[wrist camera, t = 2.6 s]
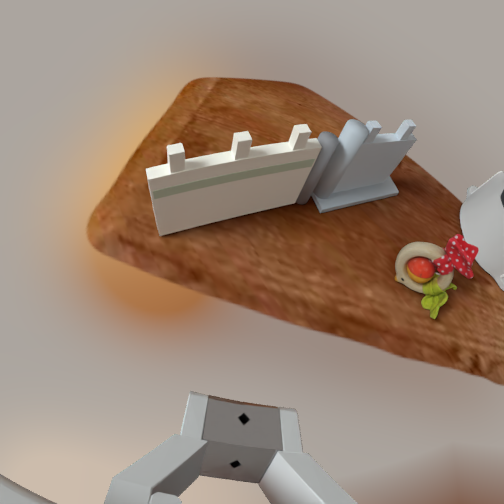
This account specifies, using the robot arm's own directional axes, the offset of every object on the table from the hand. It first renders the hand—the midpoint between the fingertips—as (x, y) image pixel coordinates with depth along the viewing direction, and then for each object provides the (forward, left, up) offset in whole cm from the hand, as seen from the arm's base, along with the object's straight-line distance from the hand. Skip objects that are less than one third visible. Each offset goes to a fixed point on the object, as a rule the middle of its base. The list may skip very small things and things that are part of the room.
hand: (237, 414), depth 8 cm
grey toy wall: (-19, -24, -22) cm, 38 cm away
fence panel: (-4, -20, -22) cm, 29 cm away
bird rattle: (-25, -10, -22) cm, 34 cm away
